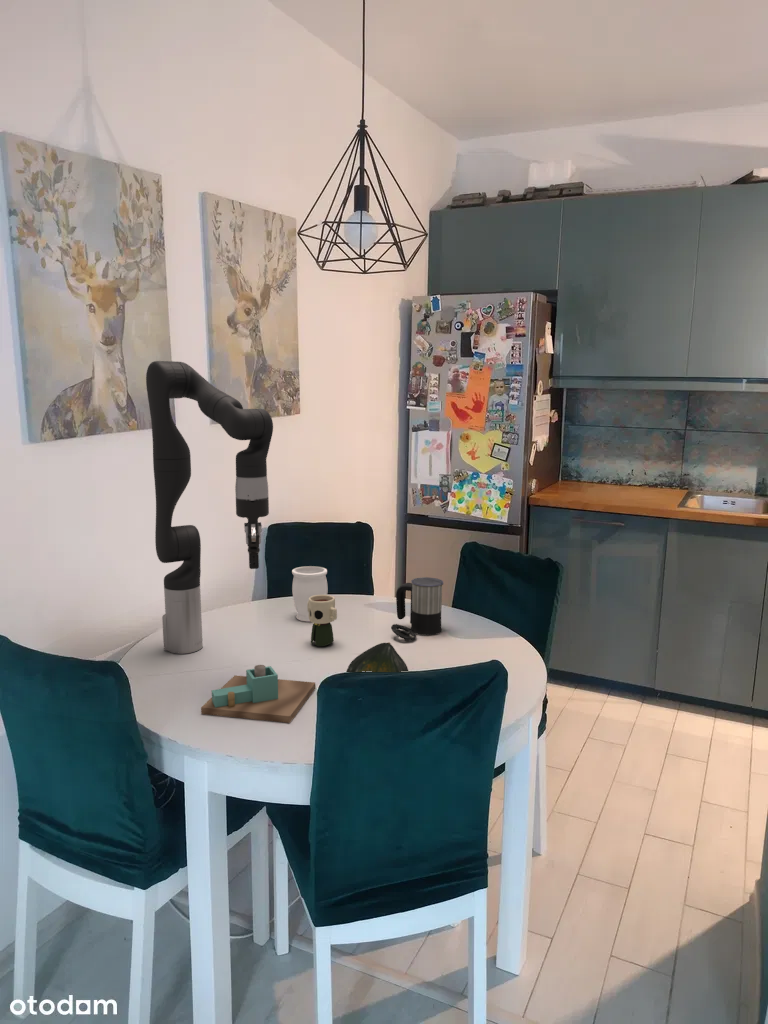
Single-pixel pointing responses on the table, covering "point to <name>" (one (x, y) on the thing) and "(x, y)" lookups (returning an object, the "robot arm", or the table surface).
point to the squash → (378, 660)
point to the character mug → (322, 618)
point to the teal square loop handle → (250, 689)
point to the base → (276, 710)
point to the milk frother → (420, 608)
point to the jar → (307, 588)
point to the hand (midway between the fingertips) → (254, 568)
